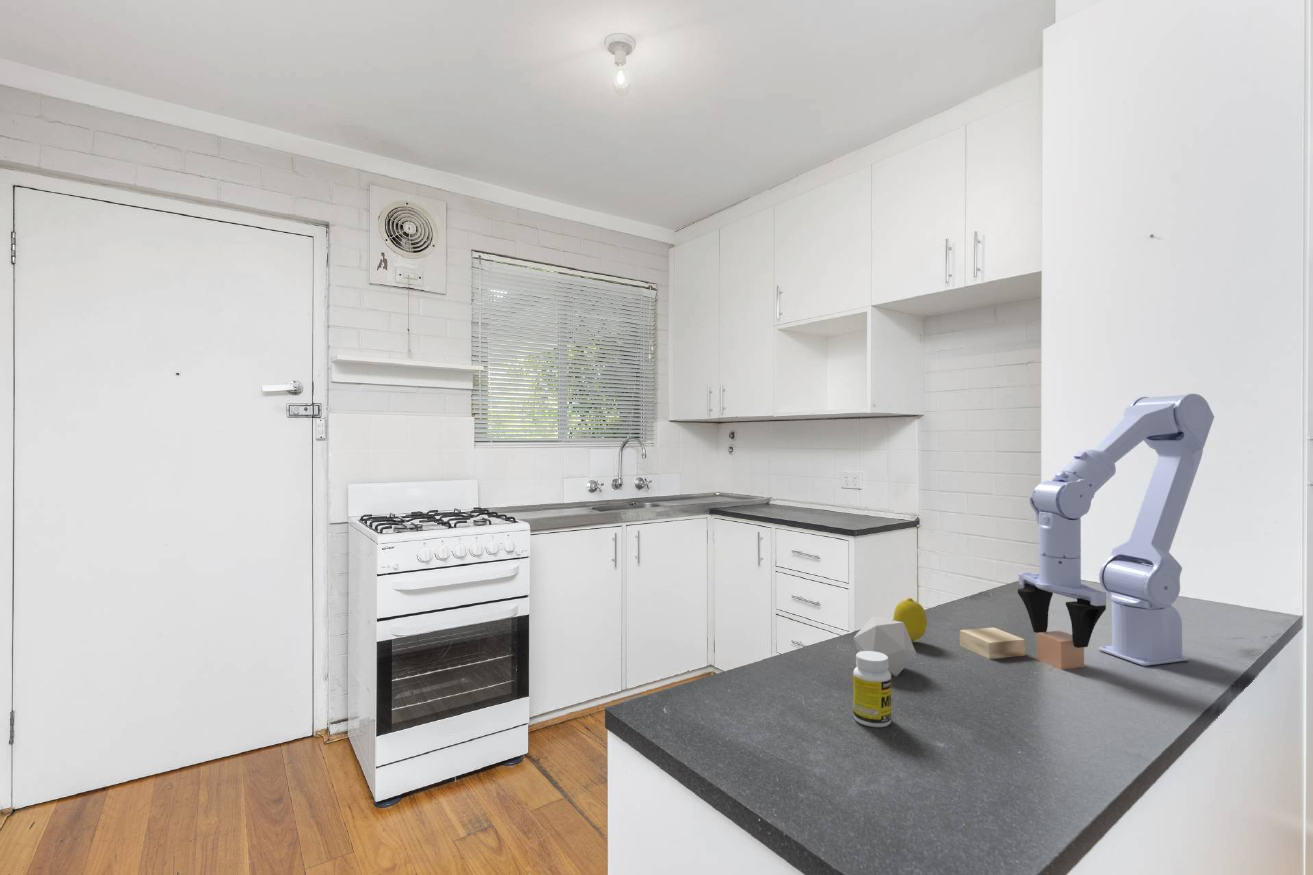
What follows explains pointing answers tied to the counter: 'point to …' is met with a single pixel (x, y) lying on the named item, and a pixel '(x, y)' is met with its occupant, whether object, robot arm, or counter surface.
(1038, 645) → the terracotta cube
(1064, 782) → the counter surface
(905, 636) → the die
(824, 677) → the counter surface
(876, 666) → the supplement bottle
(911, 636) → the lemon
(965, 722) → the counter surface
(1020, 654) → the oak block
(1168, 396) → the robot arm
